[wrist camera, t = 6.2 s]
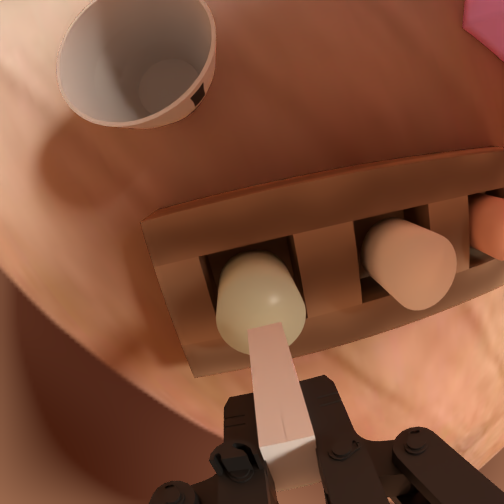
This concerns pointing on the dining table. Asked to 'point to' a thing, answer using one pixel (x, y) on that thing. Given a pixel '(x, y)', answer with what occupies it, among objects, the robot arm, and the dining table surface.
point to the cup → (137, 61)
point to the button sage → (257, 298)
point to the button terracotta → (486, 224)
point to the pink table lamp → (486, 23)
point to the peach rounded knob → (409, 262)
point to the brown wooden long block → (321, 247)
